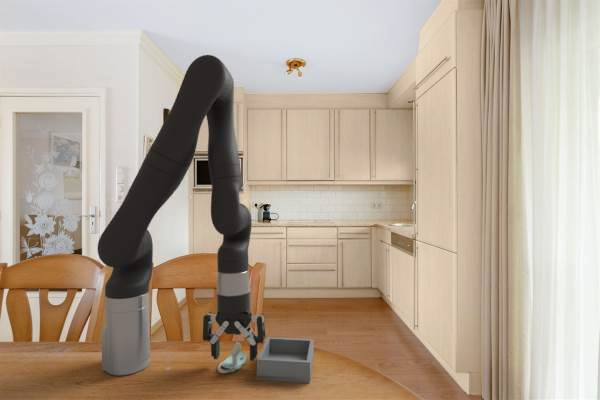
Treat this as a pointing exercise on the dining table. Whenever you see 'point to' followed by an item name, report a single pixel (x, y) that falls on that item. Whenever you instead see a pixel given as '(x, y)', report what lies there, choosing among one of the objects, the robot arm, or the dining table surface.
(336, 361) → the dining table surface
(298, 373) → the bin
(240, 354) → the pacifier
